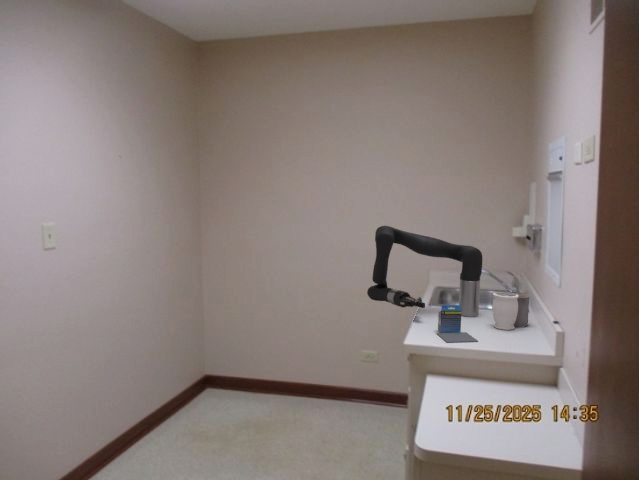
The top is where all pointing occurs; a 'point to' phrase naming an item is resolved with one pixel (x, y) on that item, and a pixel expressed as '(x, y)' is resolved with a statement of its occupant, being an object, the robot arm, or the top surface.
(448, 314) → the label tape box
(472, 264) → the robot arm
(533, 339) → the top surface
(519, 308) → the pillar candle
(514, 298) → the jar
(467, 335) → the mat
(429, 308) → the top surface
